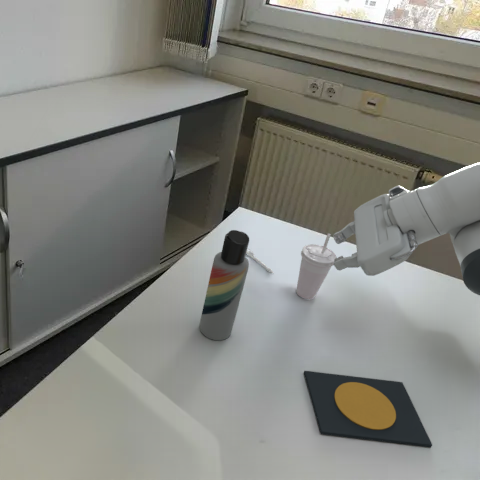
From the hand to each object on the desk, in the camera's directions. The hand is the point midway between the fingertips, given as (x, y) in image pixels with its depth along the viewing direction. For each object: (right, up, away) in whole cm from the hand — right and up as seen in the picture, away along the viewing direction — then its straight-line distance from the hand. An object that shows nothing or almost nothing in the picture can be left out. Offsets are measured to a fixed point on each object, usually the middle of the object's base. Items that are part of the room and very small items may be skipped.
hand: (335, 251), depth 101 cm
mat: (-3, -24, -17) cm, 29 cm away
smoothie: (-3, -9, +7) cm, 11 cm away
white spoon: (-13, -2, +15) cm, 20 cm away
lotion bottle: (-23, -14, -5) cm, 28 cm away
